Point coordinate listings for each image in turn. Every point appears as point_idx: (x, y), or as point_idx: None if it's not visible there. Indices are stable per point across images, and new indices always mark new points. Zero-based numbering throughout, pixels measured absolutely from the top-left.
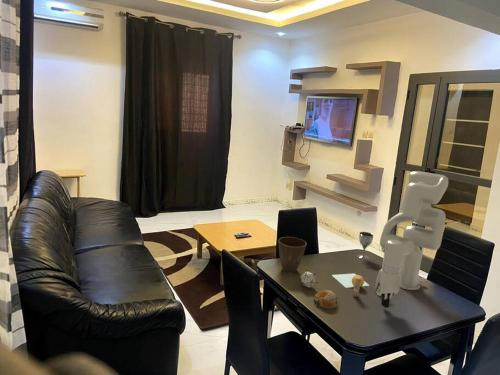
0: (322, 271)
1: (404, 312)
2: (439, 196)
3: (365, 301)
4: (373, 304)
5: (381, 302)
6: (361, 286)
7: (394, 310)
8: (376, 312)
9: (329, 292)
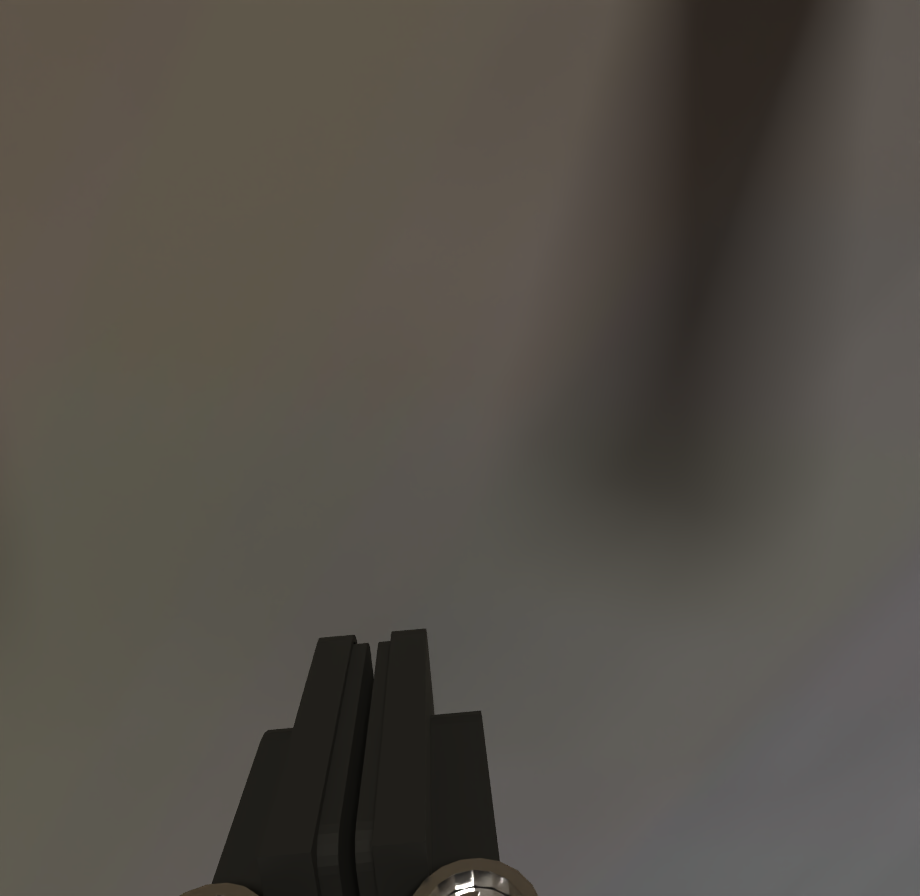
0: None
1: (791, 804)
2: None
3: (18, 236)
4: (206, 427)
5: (260, 754)
6: None
7: (615, 723)
8: (105, 770)
9: None
